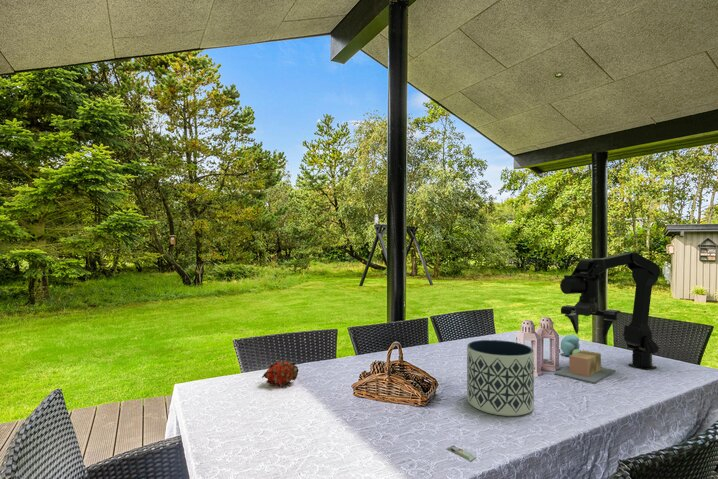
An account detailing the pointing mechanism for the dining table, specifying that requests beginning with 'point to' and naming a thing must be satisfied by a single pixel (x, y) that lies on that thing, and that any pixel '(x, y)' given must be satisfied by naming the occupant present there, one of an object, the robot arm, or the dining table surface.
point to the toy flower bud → (570, 345)
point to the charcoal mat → (591, 379)
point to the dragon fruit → (281, 373)
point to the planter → (500, 377)
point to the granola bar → (461, 452)
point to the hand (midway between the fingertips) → (590, 335)
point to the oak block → (585, 363)
